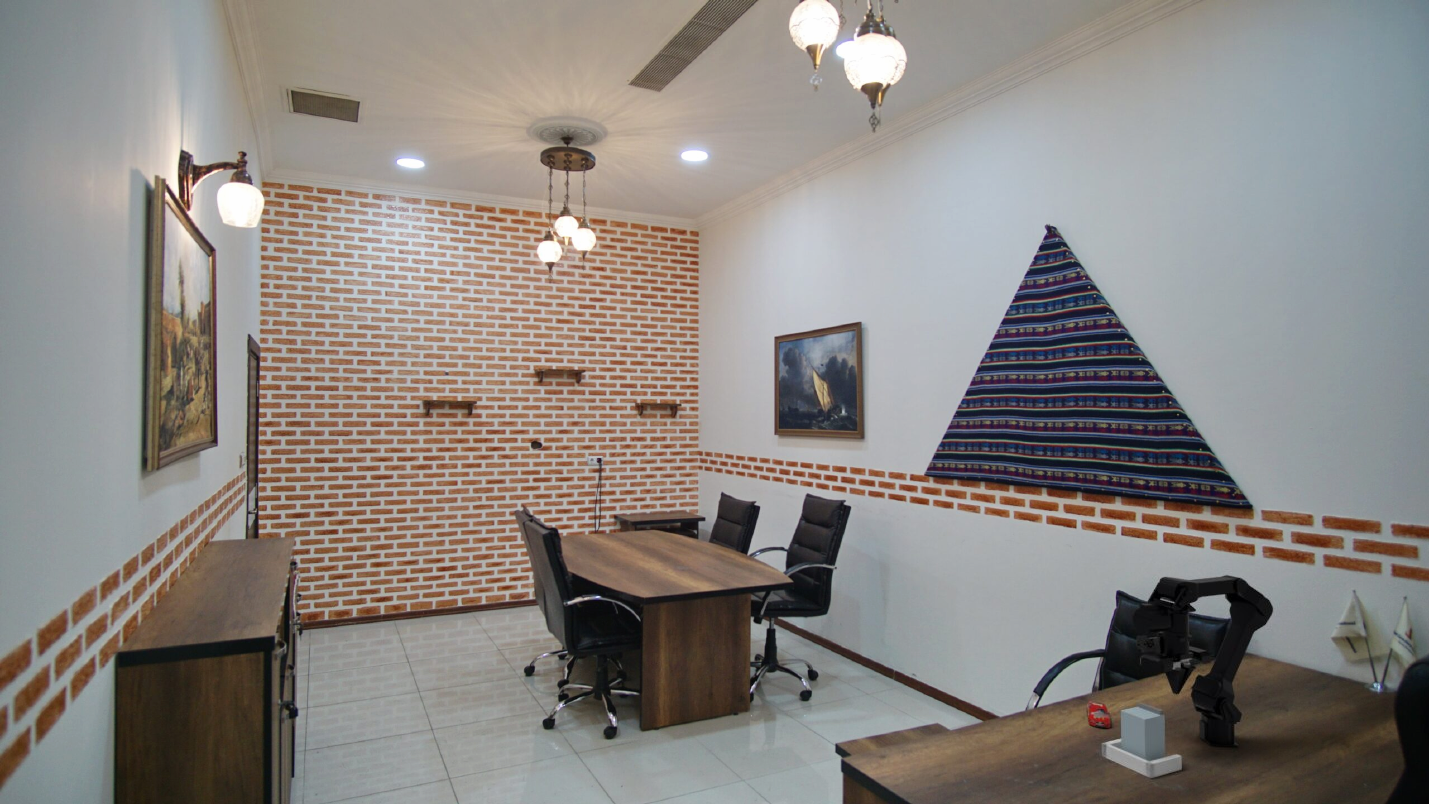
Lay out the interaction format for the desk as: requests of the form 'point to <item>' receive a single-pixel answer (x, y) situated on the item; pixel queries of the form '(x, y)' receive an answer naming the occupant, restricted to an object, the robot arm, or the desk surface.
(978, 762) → the desk surface
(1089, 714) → the race car
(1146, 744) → the pale grey upright block
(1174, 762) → the bay
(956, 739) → the desk surface
